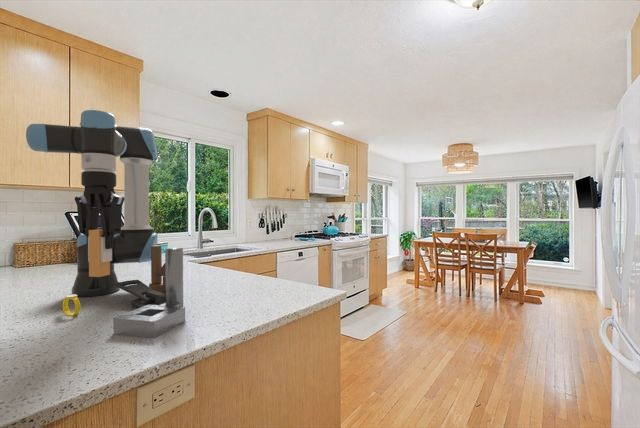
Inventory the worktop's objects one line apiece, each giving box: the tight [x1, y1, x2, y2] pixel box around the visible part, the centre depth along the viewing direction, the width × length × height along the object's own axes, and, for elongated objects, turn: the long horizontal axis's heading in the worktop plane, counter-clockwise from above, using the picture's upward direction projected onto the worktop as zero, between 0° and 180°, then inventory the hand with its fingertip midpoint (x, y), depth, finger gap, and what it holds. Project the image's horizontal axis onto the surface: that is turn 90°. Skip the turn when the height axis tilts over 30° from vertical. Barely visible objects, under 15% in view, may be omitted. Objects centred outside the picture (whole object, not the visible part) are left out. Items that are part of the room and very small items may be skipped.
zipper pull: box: [115, 279, 166, 310], centre depth 105 cm, size 9×7×25 cm
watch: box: [62, 294, 82, 317], centre depth 96 cm, size 6×3×6 cm, turn 70°
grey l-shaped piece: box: [112, 247, 186, 339], centre depth 88 cm, size 18×12×20 cm
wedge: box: [89, 228, 110, 277], centre depth 84 cm, size 3×3×12 cm
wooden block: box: [148, 244, 165, 294], centre depth 120 cm, size 4×11×18 cm, turn 67°
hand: (100, 260), depth 84 cm, fingers closed on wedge, 3 cm apart
